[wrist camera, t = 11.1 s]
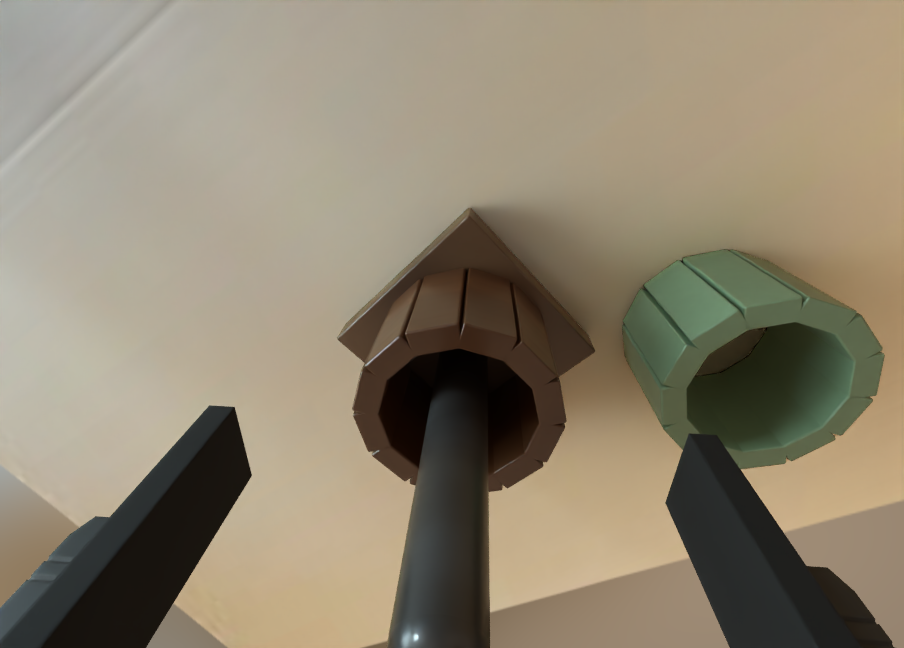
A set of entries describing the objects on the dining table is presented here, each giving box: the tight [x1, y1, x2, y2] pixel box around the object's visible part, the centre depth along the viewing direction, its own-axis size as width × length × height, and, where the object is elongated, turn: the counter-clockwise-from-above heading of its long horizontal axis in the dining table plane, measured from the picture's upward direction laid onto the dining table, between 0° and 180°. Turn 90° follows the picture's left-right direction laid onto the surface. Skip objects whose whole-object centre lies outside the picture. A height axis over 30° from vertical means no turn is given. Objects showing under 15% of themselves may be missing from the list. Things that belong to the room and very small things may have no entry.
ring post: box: [337, 208, 595, 648], centre depth 14 cm, size 8×8×14 cm
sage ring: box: [622, 249, 885, 469], centre depth 18 cm, size 7×7×5 cm
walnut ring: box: [352, 268, 566, 492], centre depth 17 cm, size 7×7×5 cm
